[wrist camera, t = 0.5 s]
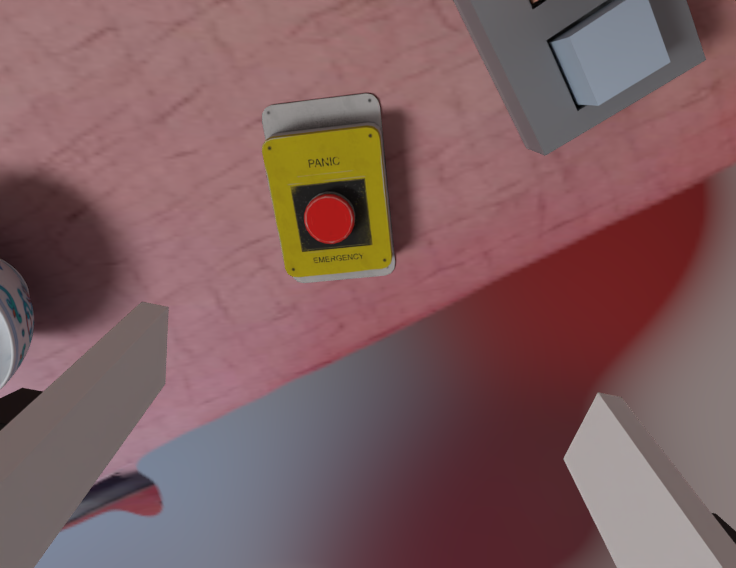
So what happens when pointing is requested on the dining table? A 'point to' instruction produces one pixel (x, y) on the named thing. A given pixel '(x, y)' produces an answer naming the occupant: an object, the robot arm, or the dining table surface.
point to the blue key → (610, 51)
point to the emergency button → (329, 187)
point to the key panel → (541, 70)
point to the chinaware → (13, 321)
